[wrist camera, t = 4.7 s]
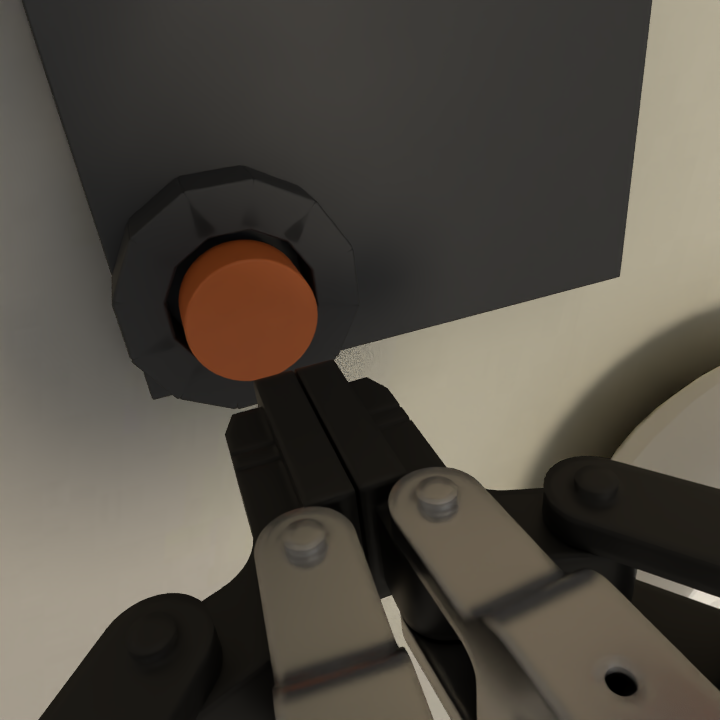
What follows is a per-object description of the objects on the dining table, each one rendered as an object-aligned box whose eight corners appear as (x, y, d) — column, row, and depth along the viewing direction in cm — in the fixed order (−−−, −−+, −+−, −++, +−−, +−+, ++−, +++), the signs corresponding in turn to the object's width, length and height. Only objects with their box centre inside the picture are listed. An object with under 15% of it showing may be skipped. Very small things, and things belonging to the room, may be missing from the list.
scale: (147, 371, 20) (154, 433, 17) (-45, -224, 13) (-91, -295, 10) (586, 260, 24) (653, 295, 21) (630, -246, 16) (742, -301, 14)
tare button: (194, 367, 17) (202, 396, 16) (163, 254, 15) (168, 276, 14) (310, 337, 18) (326, 363, 16) (292, 226, 16) (308, 245, 15)
